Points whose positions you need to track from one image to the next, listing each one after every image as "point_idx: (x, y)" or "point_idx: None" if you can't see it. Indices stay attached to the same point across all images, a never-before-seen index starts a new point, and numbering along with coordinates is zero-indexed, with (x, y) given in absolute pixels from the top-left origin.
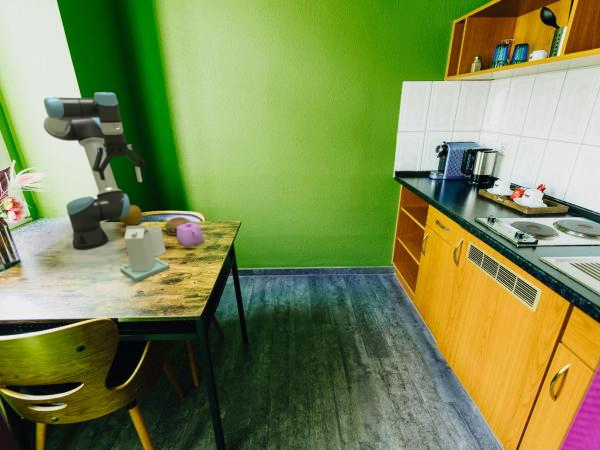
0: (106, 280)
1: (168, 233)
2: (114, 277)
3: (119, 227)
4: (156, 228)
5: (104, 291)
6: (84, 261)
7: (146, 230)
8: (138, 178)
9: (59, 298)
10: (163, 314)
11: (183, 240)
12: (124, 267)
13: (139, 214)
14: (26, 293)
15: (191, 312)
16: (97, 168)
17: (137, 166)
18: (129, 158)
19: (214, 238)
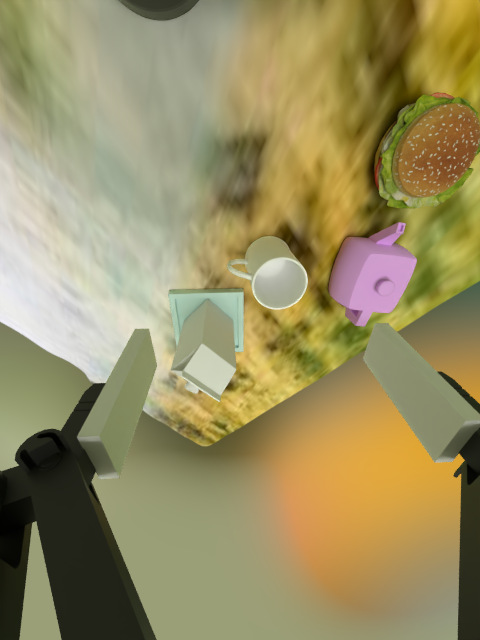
0: (138, 304)
1: (377, 151)
2: (153, 304)
3: None
4: (300, 269)
5: (127, 339)
6: (106, 142)
7: (227, 377)
8: (382, 355)
9: (56, 306)
10: (176, 431)
11: (333, 288)
12: (176, 298)
13: None
14: None
15: (200, 444)
16: (12, 544)
17: (475, 441)
18: (464, 619)
19: None
